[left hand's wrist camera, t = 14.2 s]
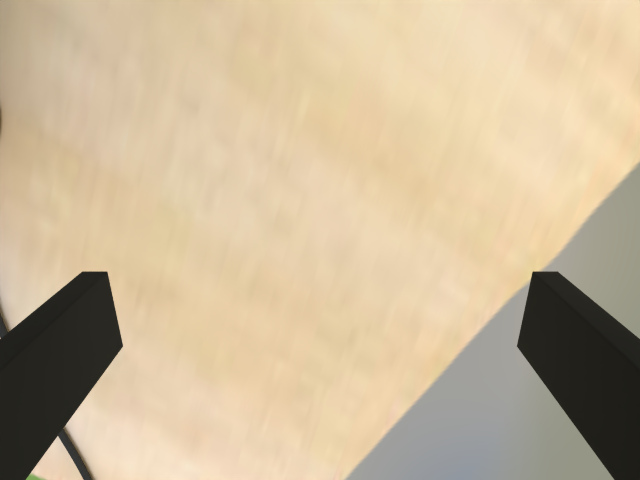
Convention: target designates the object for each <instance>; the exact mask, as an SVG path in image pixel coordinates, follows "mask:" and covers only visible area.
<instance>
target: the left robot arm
mask: <svg viewBox="0 0 640 480" xmlns="http://www.w3.org/2000/svg"><path fill="white" fill-rule="evenodd" d="M0 338H1V339H0V480H26V478H27V477H28V476H29V474H30V473H31V472H32V470H33V469H34V467H35V466H36V465H37V463H38V462H39V461H40V459H41V458H42V456H43V455H44V454H45V452H46V451H47V450H48V448H49V447H50V445H51V444H52V443H53V441H54V440H55V439H56V437H57V436H59V438H60V440H61V441H62V443H63V445H64V446H65V448H66V449H67V451H68V453H69V454H70V456H71V458H72V459H73V461H74V463H75V465H76V466H77V468H78V470H79V472H80V474H81V475H82V477H83V479H84V480H92V478H91V476H90V475H89V473H88V471H87V469H86V467H85V465H84V463H83V461H82V460H81V458H80V456H79V454H78V453H77V451H76V449H75V447H74V446H73V444H72V442H71V441H70V439H69V438H68V436H67V434H66V433H65V431H64V429H63V428H64V426H65V425H66V424H67V422H68V421H69V419H70V418H71V417H72V415H73V414H74V413H75V411H76V410H77V409H78V407H79V406H80V404H81V403H82V402H83V400H84V399H85V398H86V396H87V395H88V393H89V392H90V391H91V389H92V388H93V387H94V385H95V384H96V383H97V381H98V380H99V378H100V377H101V376H102V374H103V373H104V372H105V370H106V369H107V367H108V366H109V365H110V363H111V362H112V361H113V359H114V358H115V357H116V355H117V354H118V352H119V351H120V350H121V348H122V347H123V344H122V339H121V335H120V330H119V325H118V320H117V316H116V311H115V306H114V301H113V297H112V292H111V287H110V282H109V278H108V273H107V272H81V273H80V274H79V275H78V276H77V277H75V278H74V279H73V280H72V281H70V282H69V283H68V284H67V285H66V286H64V287H63V288H62V289H61V290H59V291H58V292H57V293H56V294H55V295H53V296H52V297H51V298H50V299H49V300H47V301H46V302H45V303H44V304H42V305H41V306H40V307H39V308H38V309H36V310H35V311H34V312H33V313H31V314H30V315H29V316H28V317H27V318H25V319H24V320H23V321H22V322H21V323H19V324H18V325H17V326H16V327H14V328H13V329H12V330H11V331H10V332H8V331H7V329H6V327H5V325H4V322H3V320H2V317H1V314H0ZM517 347H518V348H519V350H520V351H521V352H522V354H523V355H524V357H525V358H526V359H527V361H528V362H529V363H530V365H531V366H532V367H533V369H534V370H535V371H536V373H537V374H538V376H539V377H540V378H541V380H542V381H543V383H544V384H545V385H546V387H547V388H548V389H549V391H550V392H551V393H552V395H553V396H554V398H555V399H556V400H557V402H558V403H559V404H560V406H561V407H562V409H563V410H564V411H565V413H566V414H567V415H568V417H569V418H570V419H571V421H572V422H573V423H574V425H575V426H576V428H577V429H578V430H579V432H580V433H581V434H582V436H583V437H584V439H585V440H586V441H587V443H588V444H589V445H590V447H591V448H592V450H593V451H594V452H595V454H596V455H597V456H598V458H599V459H600V461H601V462H602V463H603V465H604V466H605V467H606V469H607V470H608V471H609V473H610V474H611V476H612V477H613V478H614V480H640V339H639V338H638V337H637V336H635V335H634V334H633V333H632V332H630V331H629V330H628V329H627V328H626V327H624V326H623V325H622V324H621V323H619V322H618V321H617V320H616V319H615V318H613V317H612V316H611V315H610V314H609V313H607V312H606V311H605V310H604V309H602V308H601V307H600V306H599V305H598V304H596V303H595V302H594V301H593V300H591V299H590V298H589V297H588V296H587V295H585V294H584V293H583V292H582V291H581V290H579V289H578V288H577V287H576V286H574V285H573V284H572V283H571V282H570V281H568V280H567V279H566V278H565V277H563V276H562V275H561V274H560V273H559V272H533V273H532V278H531V282H530V287H529V292H528V297H527V301H526V306H525V311H524V316H523V320H522V325H521V330H520V335H519V339H518V344H517Z"/></svg>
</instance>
